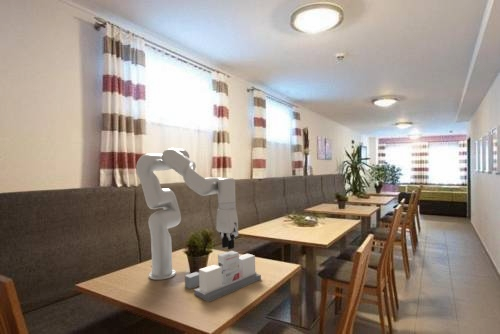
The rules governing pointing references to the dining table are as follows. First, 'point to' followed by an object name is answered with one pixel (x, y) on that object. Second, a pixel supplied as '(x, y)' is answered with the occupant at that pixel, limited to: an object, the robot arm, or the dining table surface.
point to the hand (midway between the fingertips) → (228, 247)
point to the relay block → (192, 280)
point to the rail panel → (228, 288)
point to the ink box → (229, 266)
